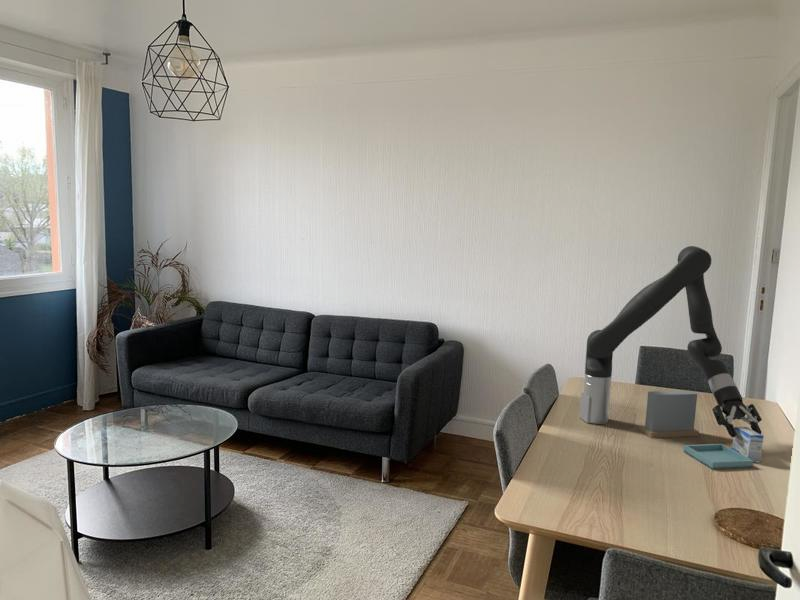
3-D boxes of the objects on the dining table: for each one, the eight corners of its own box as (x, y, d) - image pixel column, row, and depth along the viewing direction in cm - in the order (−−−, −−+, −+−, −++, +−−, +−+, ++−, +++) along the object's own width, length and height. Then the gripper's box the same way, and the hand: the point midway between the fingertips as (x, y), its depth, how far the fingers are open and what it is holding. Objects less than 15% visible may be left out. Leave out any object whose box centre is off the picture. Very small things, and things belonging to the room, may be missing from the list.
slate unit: (651, 437, 201) (654, 396, 199) (639, 430, 208) (643, 390, 206) (698, 435, 204) (702, 395, 202) (685, 428, 211) (689, 389, 209)
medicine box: (731, 452, 190) (734, 426, 189) (744, 452, 190) (747, 426, 189) (747, 462, 182) (750, 435, 181) (761, 462, 183) (764, 435, 181)
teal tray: (712, 469, 176) (712, 462, 175) (683, 451, 189) (683, 445, 189) (752, 467, 178) (753, 460, 178) (721, 450, 191) (721, 443, 191)
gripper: (711, 385, 192) (733, 431, 182) (750, 384, 194) (774, 430, 185) (699, 396, 198) (720, 441, 188) (737, 395, 200) (759, 440, 191)
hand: (746, 435), depth 186 cm, fingers open, 8 cm apart
